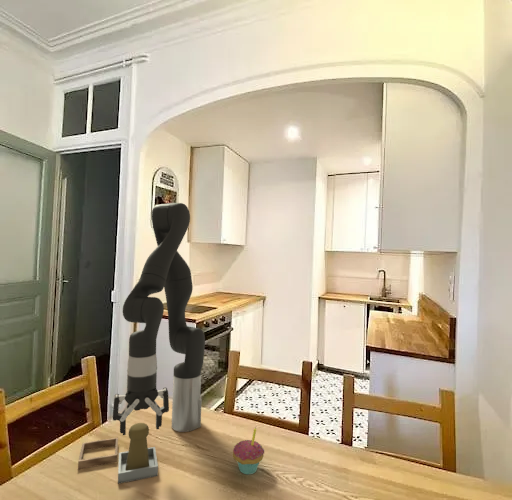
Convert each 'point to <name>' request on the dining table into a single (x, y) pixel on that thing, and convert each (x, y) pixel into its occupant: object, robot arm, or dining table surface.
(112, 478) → the dining table surface
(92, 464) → the walnut frame
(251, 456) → the cupcake
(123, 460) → the grey tray
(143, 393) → the robot arm
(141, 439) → the olive pawn
